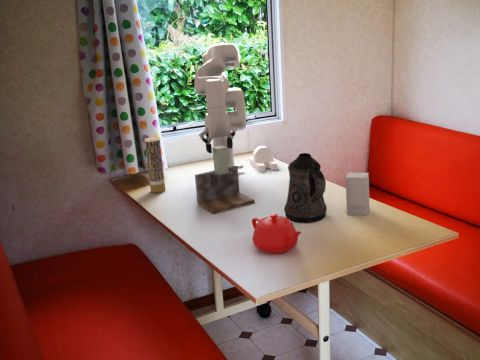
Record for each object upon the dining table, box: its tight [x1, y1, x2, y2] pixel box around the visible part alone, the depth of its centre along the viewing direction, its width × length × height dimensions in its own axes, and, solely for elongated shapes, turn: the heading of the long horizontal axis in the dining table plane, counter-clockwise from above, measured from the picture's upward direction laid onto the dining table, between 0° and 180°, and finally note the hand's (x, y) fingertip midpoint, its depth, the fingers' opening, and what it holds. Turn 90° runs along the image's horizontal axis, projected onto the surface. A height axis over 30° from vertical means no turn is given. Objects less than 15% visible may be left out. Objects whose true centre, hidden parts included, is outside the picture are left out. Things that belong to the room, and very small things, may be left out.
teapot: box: [251, 213, 303, 255], centre depth 189 cm, size 25×16×12 cm, turn 38°
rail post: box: [211, 145, 229, 176], centre depth 233 cm, size 4×4×16 cm
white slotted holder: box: [249, 145, 278, 173], centre depth 284 cm, size 10×18×11 cm, turn 16°
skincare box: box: [345, 171, 370, 216], centre depth 215 cm, size 8×7×16 cm
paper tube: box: [144, 136, 166, 194], centre depth 255 cm, size 7×7×25 cm
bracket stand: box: [194, 164, 256, 215], centre depth 234 cm, size 20×14×14 cm
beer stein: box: [283, 152, 328, 224], centre depth 213 cm, size 16×19×25 cm
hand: (219, 150), depth 231 cm, fingers open, 9 cm apart
